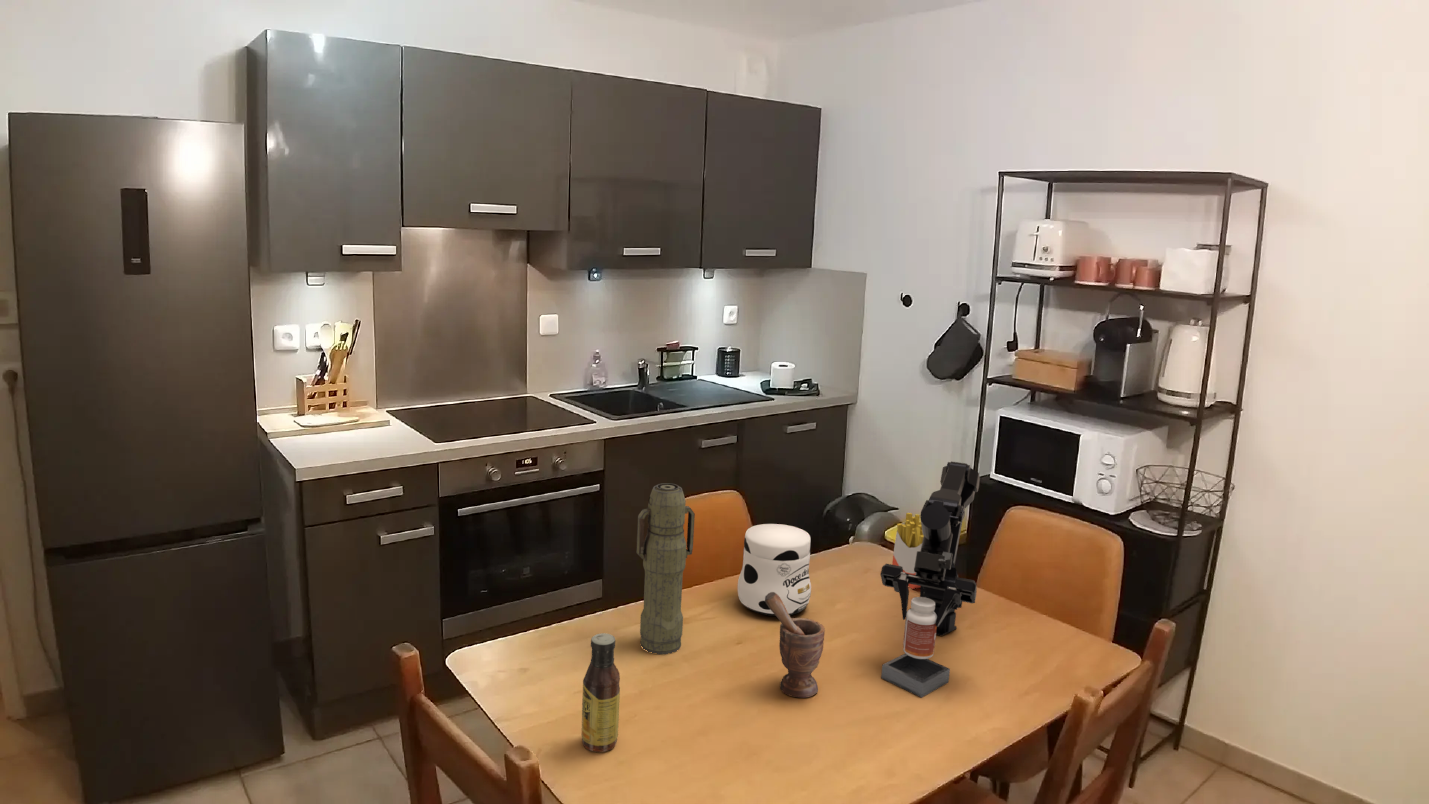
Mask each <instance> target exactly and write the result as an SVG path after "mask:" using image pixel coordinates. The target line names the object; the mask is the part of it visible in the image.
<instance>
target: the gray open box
mask: <svg viewBox="0 0 1429 804" xmlns="http://www.w3.org/2000/svg"><path fill="white" fill-rule="evenodd" d="M950 671H951V668H949V667H947V666H946V665H945V666H944V665H942V664H940V663H938V662H936V661H933V660H931V659H930V658H928V659H917V658H913V657H911V656H909V655H907V654H906V653H905V652H904V653H903V654H902V655H899V656H897V657H895V658H893V659H891V660H889V661H887V662H885V663H883V664H882V666H881V676H880V679H882V680H884V681H886V682H888V683H890V684H892V685H894V686H896V687H899V688H901V689H903V690H904V691H906V692H908V693H911V694H913V695H915V696H917V697H919V698H924V697H925V696H927V695H928V694H930V693H932V692H934V691H936V690H938V689H940V688H942V687H943V686H945V685H947V684H948V683H949V681H950V680H949V679H950Z"/></svg>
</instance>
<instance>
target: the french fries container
mask: <svg viewBox="0 0 1429 804" xmlns="http://www.w3.org/2000/svg"><path fill="white" fill-rule="evenodd" d="M920 515H921V514H919V513H918V514H916V513H915V515H914V516H913V513H912V512H906V513H905V522H902V523H896V526H897V528H896V534H895V541H894V546H893V547H894V548H893V555H892V563H891V565H897V566H902V568H903V572H905V573H907V574H912V575H915V574H916V572H914V567H915V561H916V555H917V551H921V546H922V542H923V537H924V536H923V533H922V526H921V521H920V519H921V518H920ZM908 586H909V587H910V588H912V589H911V590H915V588H916V589H920V587H921V586H918V585H913V584H909V585H908ZM909 587H908V588H909ZM910 588H909V589H910Z"/></svg>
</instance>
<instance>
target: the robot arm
mask: <svg viewBox="0 0 1429 804" xmlns="http://www.w3.org/2000/svg"><path fill="white" fill-rule="evenodd" d="M980 479H981V477H980V473H979V472H978V471H976V470H975V469H974V468H972V466H971V464H968V463H964V462H960V461H950V462H949V461H948V462H947V464H946V465H945V466H943V467H942V470H941V475H940V485H941V486H940V488H939V490H934V491H932V493H931V495H930V496H929V499H926V501H925V502H924V504H923V507H922V509H920V510H921V511H920V514H919V515H920V518H919V519H920V522H921V526H922V533H923V536H924V537H923V542H922V546H921V551H917V555H916V561H915V567H914V572H916V574H915V575H912V574H907V573H905V572H903V568H902V566H897V565H892V563H885V564H883V565H882V567H881V571H880V579H881V582H882V585H883V586H884V587H889V588H893V591H894V592H895V593H899V597H900V603H901V605H900V606H901V613H902V620H903V621H904V620H905V621H906V613H907V611H908V604H909V596H910V591H909V589H910V588H909V587H908V585H909V584H913V585H918V586H921V587H920V588H919V597H925V598H929V599H932V600H933V601H934V602H935V610H934V612H935V613H936V615H937V621H936V627H937V630H936V636H941V637H943V636H944V635H947V634H949V633H951V632H952V631H955V630H957V628H958V627H957V626H956V618H957V613H956V611H957V610H958V609H960V608H961V609H962V606H963V602H964V603H967V604H975V603H976V598H977V582H976V581H975V580H974V579H968V578H965V577H964V578H963V577H959V573H958V570H957V569H956V566H955V564H956V560H957V553H958V548H959V542H960V536H961V531H962V526H963V520H964V519H965V515H966V511H965V510H966V508H968V506H969V505H970V504H972V503H973V501H974V499H975V494H976V493H978V491H979V488H980V482H981V481H980Z"/></svg>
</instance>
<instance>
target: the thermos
mask: <svg viewBox="0 0 1429 804" xmlns="http://www.w3.org/2000/svg"><path fill="white" fill-rule="evenodd" d="M647 504H648V505H647V508H642V510H641V511H640V512H639V514H638V515H637V532H636V533H637V534H636V551H635V552H636V554H637V555H638V557H640V558H641V559H642V560H643V561H642V566H643V569H644V587H643V588H644V591H643V593H644V594H643V609H642V610H641V613H640V623H639V627H640V628H639V634H640V643H639V644H641V645H640V647H641V646H642V647H643V649H645V650H647V651H648V652H647V651H646V652H647V653H649V652H652V653H651V654H653V653H657V654H656V655H669V654H668V653H670V654H673V653H672V652H674V653H676V652H678V651H679V650H681V646H682V636H683V629H684V615H683V612H682V594H683V593H682V592H683V575H684V574H683V573H684V571H685V568H686V561H687V560H686V559H688V556H690V555H692V554H693V550H694V537H695V536H694V535H695V534H694V533H695V516H696V515H695V511H693V509H692V508H691V507H690V506H689V505H686V499H685V494H684V491H683V488H682V487H681V486H679V485H678V484H675V483H668V482H667V483H665V482H664V483H658V484H656V485H653V487H652V489H651V492H650V495H649V498H648V503H647ZM686 515H687V530H686V531H687V534H686V538H685V529H684V526H685V520H686V519H685V518H686ZM646 517H647V523H648V527H647V532H646V536H645V519H646ZM644 537H645V538H644ZM643 649H642V650H643ZM645 650H644V651H645ZM677 650H678V651H677Z"/></svg>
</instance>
